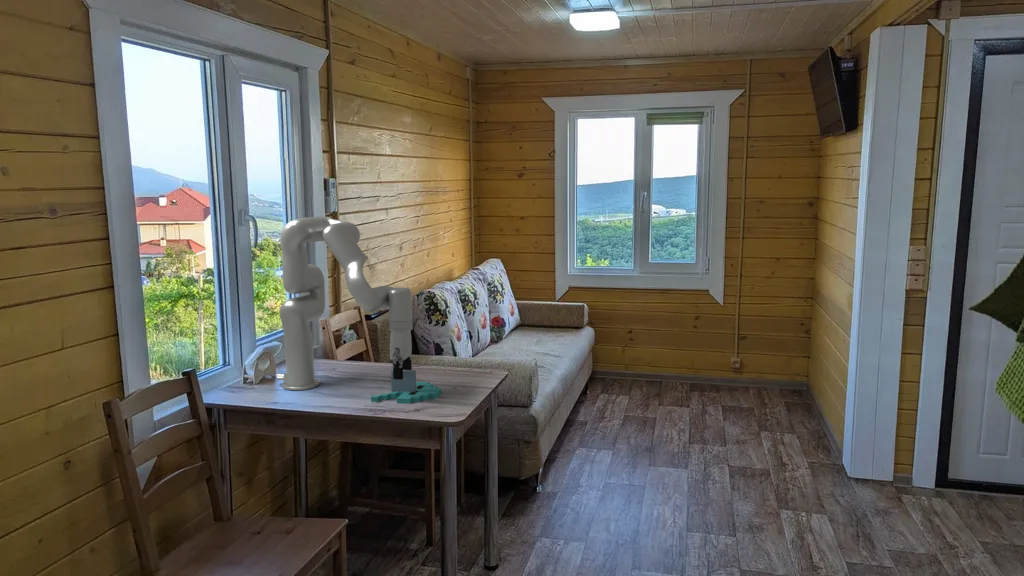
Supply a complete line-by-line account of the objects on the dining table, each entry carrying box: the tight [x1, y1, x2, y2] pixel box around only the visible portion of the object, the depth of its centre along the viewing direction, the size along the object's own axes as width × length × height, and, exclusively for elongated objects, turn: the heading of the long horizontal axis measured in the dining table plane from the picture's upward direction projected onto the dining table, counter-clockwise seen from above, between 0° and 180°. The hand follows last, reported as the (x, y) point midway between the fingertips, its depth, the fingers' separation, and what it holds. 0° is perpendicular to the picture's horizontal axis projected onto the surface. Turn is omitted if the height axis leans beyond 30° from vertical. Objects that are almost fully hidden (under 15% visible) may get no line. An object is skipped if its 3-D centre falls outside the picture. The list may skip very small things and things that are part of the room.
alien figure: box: [370, 381, 443, 405], centre depth 235 cm, size 20×2×20 cm
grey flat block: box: [390, 369, 417, 392], centre depth 233 cm, size 7×2×8 cm
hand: (402, 375), depth 232 cm, fingers open, 9 cm apart
